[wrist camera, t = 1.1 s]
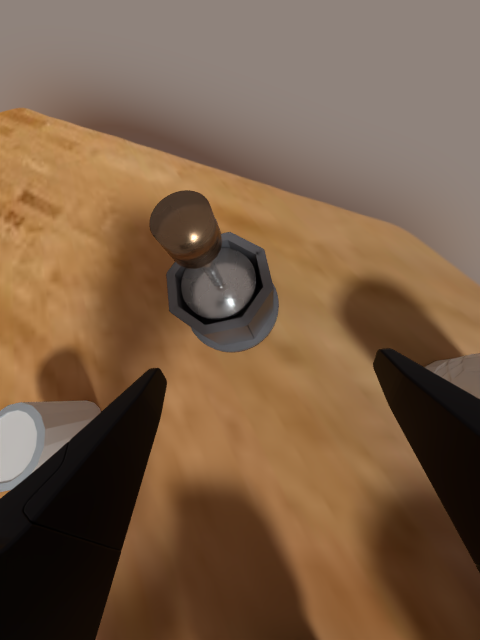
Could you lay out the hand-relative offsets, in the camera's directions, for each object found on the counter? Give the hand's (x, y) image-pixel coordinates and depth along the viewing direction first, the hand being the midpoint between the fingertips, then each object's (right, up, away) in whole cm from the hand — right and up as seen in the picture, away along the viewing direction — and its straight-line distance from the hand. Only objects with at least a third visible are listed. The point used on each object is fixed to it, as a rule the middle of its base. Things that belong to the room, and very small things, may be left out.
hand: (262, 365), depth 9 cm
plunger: (-3, +5, +10) cm, 12 cm away
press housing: (-2, +3, +16) cm, 17 cm away
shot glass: (-20, -11, +16) cm, 27 cm away
